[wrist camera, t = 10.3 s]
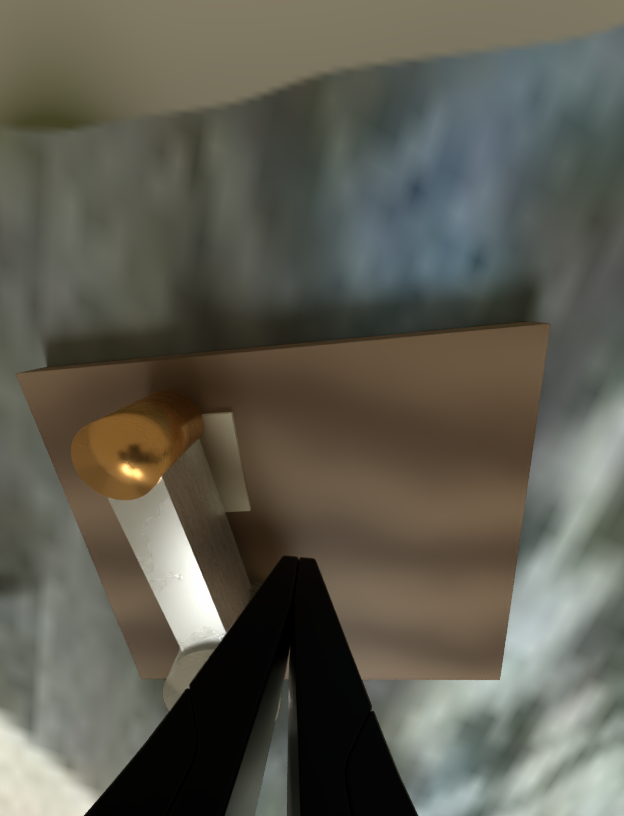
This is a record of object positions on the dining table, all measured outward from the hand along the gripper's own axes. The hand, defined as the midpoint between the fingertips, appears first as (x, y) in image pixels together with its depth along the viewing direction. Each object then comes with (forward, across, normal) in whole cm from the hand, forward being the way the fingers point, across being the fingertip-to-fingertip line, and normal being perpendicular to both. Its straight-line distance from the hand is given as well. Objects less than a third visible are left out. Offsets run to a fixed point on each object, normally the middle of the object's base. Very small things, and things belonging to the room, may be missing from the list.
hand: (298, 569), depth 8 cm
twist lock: (+6, +4, +5) cm, 9 cm away
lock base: (+8, +1, +5) cm, 9 cm away
